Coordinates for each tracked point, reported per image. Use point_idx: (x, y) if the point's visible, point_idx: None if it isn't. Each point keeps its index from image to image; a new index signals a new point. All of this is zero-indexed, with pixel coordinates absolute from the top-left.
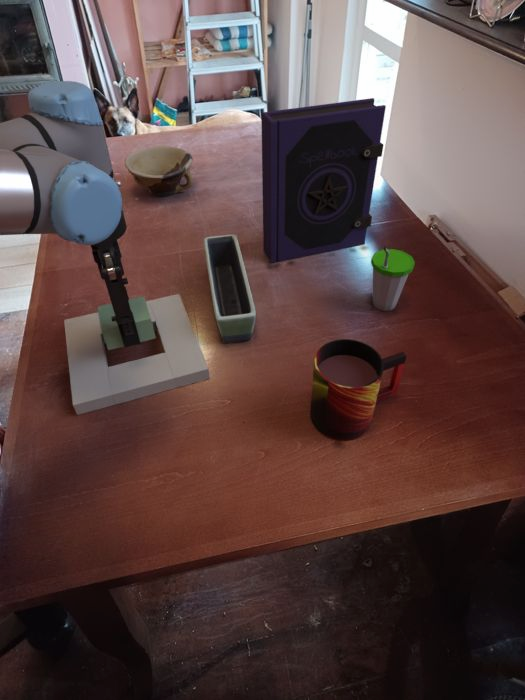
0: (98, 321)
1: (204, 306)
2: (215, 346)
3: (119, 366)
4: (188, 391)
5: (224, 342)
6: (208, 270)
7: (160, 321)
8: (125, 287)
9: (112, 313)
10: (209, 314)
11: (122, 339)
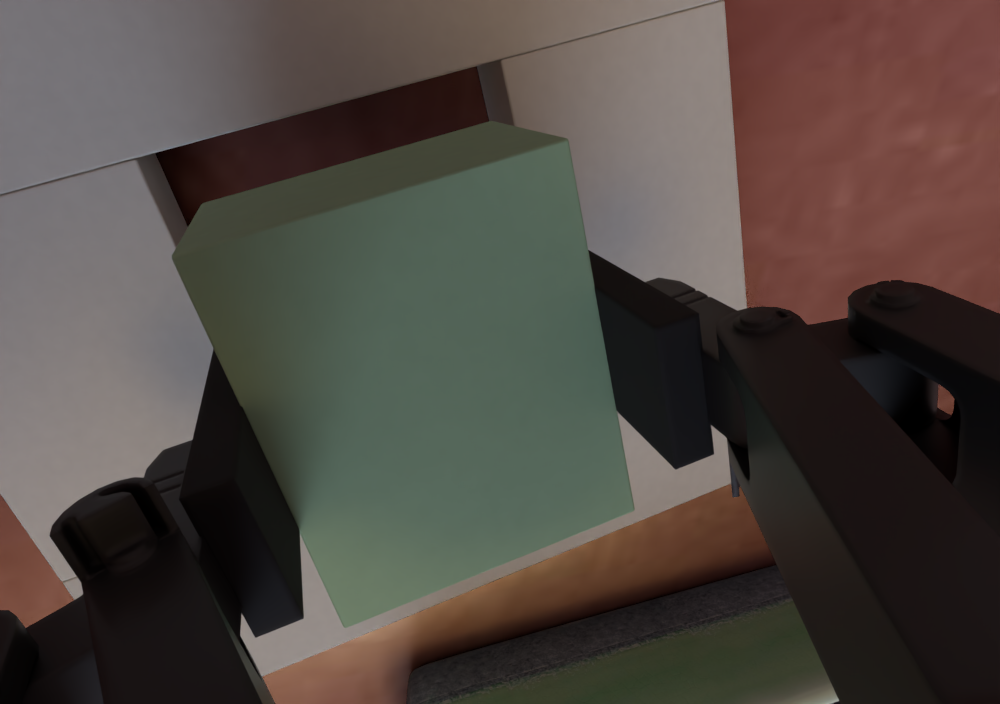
0: (631, 26)
1: (675, 542)
2: (397, 635)
3: (150, 249)
4: (66, 589)
5: (411, 674)
6: (828, 693)
7: None
8: (697, 458)
9: (439, 313)
10: (617, 572)
11: (209, 369)
